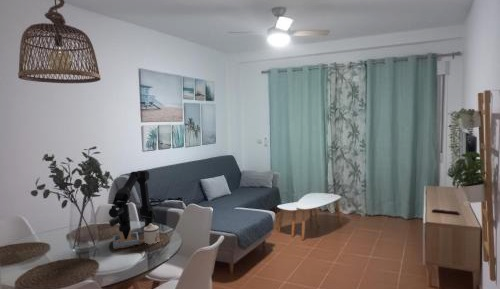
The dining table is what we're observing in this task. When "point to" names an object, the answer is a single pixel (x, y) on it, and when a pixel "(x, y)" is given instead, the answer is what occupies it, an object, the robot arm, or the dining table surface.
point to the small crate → (124, 238)
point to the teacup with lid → (151, 234)
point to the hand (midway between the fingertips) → (125, 237)
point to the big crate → (126, 241)
